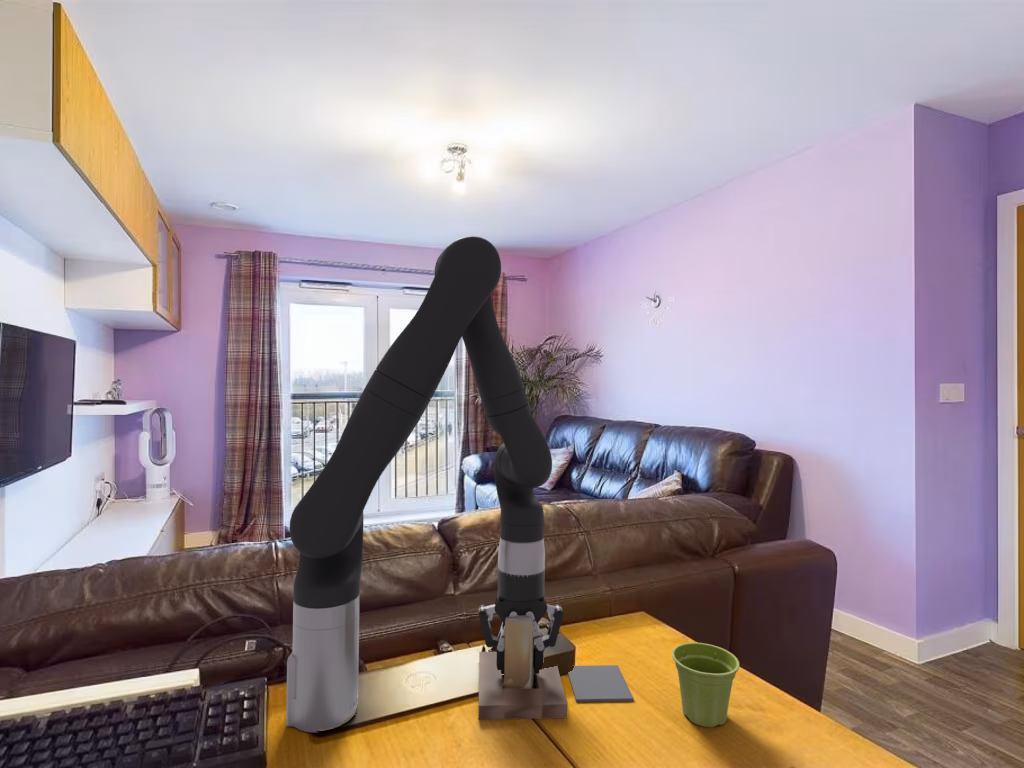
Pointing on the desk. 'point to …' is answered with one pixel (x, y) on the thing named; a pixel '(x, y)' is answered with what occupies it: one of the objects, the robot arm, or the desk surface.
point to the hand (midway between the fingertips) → (519, 670)
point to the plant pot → (705, 681)
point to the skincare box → (519, 653)
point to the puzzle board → (519, 694)
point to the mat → (599, 684)
